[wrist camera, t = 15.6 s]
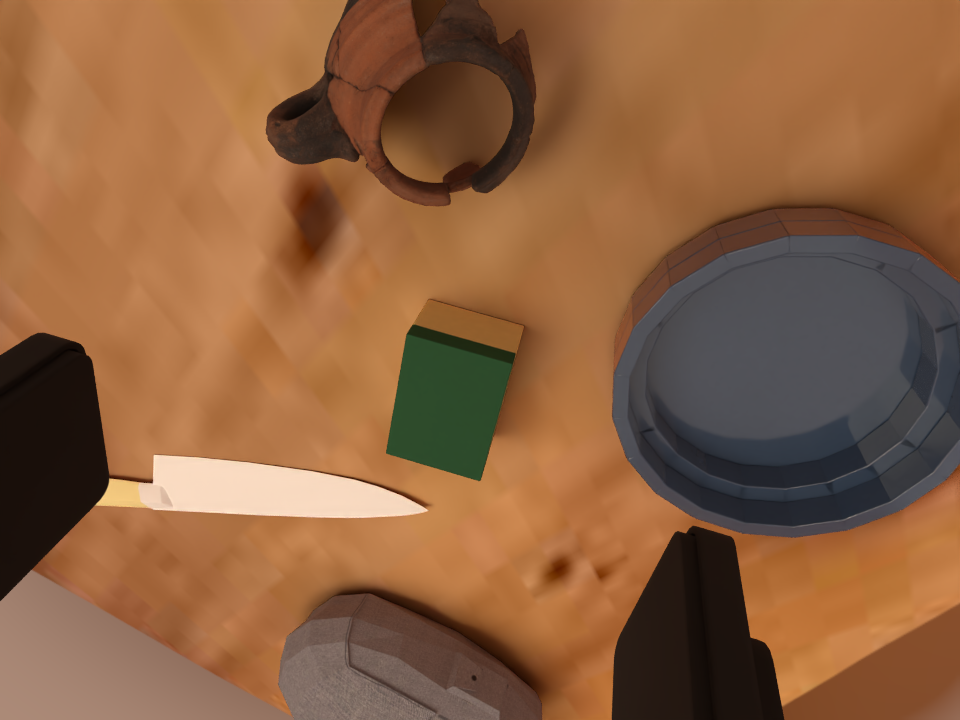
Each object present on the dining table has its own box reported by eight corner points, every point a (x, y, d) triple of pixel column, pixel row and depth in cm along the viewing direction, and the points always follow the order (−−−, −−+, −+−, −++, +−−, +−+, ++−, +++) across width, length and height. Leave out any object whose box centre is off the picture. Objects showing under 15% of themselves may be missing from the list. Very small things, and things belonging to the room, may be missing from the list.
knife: (426, 461, 44) (432, 522, 46) (11, 444, 51) (28, 497, 53) (420, 471, 43) (427, 532, 44) (-4, 452, 50) (14, 506, 51)
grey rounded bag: (569, 676, 51) (343, 547, 49) (560, 789, 44) (295, 644, 42) (471, 754, 59) (272, 646, 56) (449, 861, 52) (221, 741, 49)
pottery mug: (465, -101, 28) (516, -31, 23) (528, 91, 35) (577, 178, 30) (220, 26, 30) (215, 118, 24) (328, 186, 37) (342, 284, 32)
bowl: (768, 132, 30) (788, 154, 26) (1036, 333, 32) (1092, 381, 28) (555, 379, 38) (547, 424, 35) (778, 526, 40) (794, 583, 37)
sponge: (428, 298, 37) (406, 333, 34) (524, 325, 37) (513, 364, 33) (407, 411, 42) (385, 453, 38) (493, 436, 41) (480, 481, 37)
